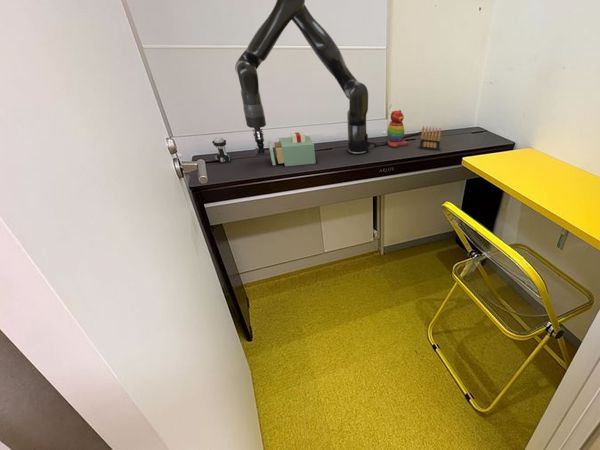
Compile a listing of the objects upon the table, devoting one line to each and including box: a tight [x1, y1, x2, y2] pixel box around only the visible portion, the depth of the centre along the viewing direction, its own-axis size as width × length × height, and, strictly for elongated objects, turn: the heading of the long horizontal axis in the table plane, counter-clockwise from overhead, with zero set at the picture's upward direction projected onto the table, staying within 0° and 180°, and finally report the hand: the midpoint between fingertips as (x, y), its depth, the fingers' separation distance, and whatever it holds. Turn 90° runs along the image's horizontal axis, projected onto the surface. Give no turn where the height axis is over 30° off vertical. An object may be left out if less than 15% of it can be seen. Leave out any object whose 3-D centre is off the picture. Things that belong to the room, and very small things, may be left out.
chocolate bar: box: [290, 131, 306, 143], centre depth 140 cm, size 6×4×3 cm
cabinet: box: [278, 135, 317, 168], centre depth 143 cm, size 14×12×9 cm
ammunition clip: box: [419, 125, 442, 151], centre depth 166 cm, size 11×2×12 cm, turn 83°
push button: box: [212, 137, 231, 163], centre depth 138 cm, size 7×5×10 cm
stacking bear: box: [386, 109, 408, 148], centre depth 168 cm, size 11×10×18 cm
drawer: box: [254, 140, 284, 166], centre depth 140 cm, size 18×11×7 cm, turn 114°
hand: (262, 154), depth 138 cm, fingers closed
